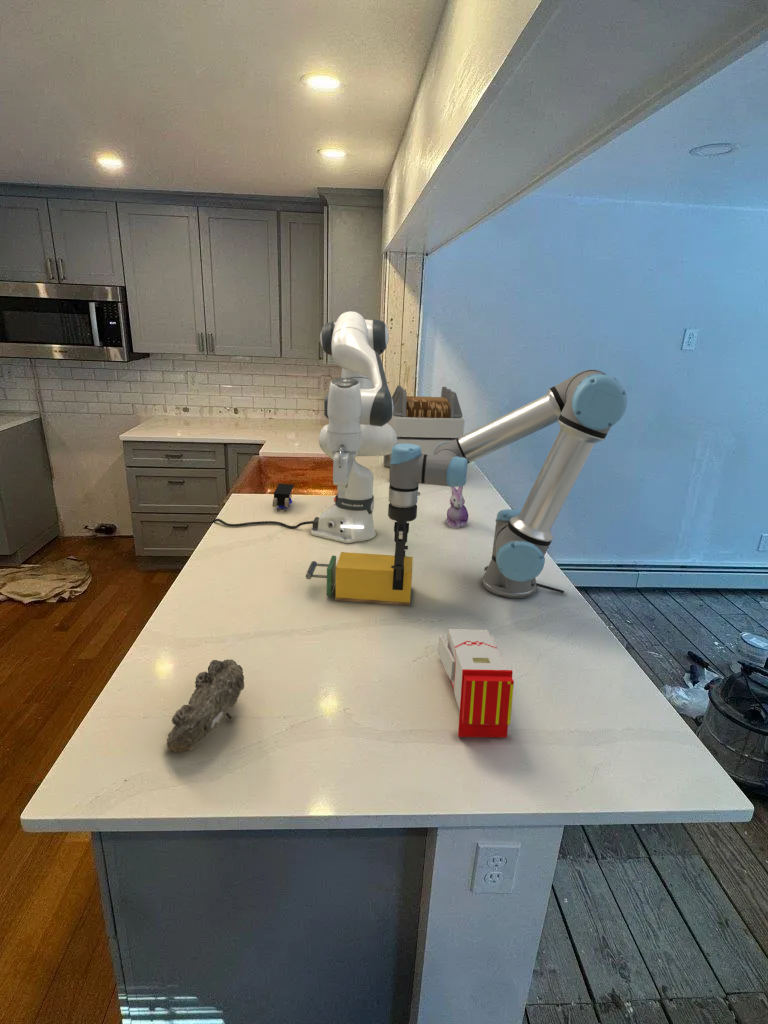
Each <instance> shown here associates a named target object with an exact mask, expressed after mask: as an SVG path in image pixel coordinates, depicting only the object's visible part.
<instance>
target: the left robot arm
mask: <svg viewBox="0 0 768 1024" xmlns="http://www.w3.org/2000/svg"><path fill="white" fill-rule="evenodd" d="M389 339H390V333H389V330H388V327H387V326H386V323H385V322H384V321H383V320H381V319H375V318H374V319H365V317H364V316H362V314H360V313H359V312H357V311H353V310H352V311H349V310H348V311H344V312H342V313H341V314H340V315H339V316H338V318H337V319H336V321H330V322H326V323H324V324H323V326H322V327H321V331H320V334H319V342H320V345H321V347H322V350H323V352H324V353H325V354H326V355H329V356H332V358H333V361H334V362H335V363H336V364H337V365H338V366H339V367H340V368H341V374H340V377H338V378H334V379H331V381H330V383H329V388H328V393H327V394H325V396H324V397H323V399H324V400H323V401H324V402H323V403H324V404H323V405H324V406H323V407H324V408H323V409H324V413H323V416H325V418H326V419H327V420H328V424H325V425H323V427H321V429H320V431H319V434H318V445H319V447H320V449H321V450H322V452H323V453H324V454H325V455H326V456H328V457H329V458H330V459H331V460H332V461H333V464H332V484H333V486H336V490H337V494H336V495H335V496H334V497H333V502H334V504H333V505H331V506H329V507H328V508H326V509H325V510H323V512H321V514H320V515H319V516H315V517H314V519H313V520H310V521H309V520H308V521H302V522H299V523H297V524H296V525H289V524H286V523H283V522H280V521H273V520H265V521H264V520H262V521H261V520H260V521H249V522H248V521H247V522H243V523H241V522H240V523H227V522H225V521H224V520H222V519H220V518H213V520H212V521H211V523H212V524H213V523H216V522H218V523H220V524H222V525H224V526H227V527H243V526H252V525H271V524H272V525H279V526H282V527H284V528H287V529H291V530H292V529H297V528H300V527H301V526H304V525H312V528H311V530H310V533H311V536H315V537H319V538H323V539H326V540H330V541H336V542H339V543H343V544H352V543H357V542H365V541H368V540H372V539H373V538H375V537H376V535H377V532H376V528H375V523H374V513H373V512H374V509H375V496H374V474H373V472H372V471H371V469H369V468H368V467H366V466H364V465H362V464H360V463H359V462H357V461H356V458H357V457H382V456H383V457H384V455H388V454H391V453H392V448H393V447H394V446H395V445H396V444H397V435H396V432H395V430H394V429H393V428H392V427H391V426H390V425H389V424H387V423H388V422H389V421H390V420H391V419H392V415H393V410H394V406H393V400H392V394H391V392H390V389H389V386H388V382H387V377H386V373H385V368H384V365H383V361H382V358H381V355H382V354H383V353H384V352H385V351H386V349H387V346H388V344H389Z"/></svg>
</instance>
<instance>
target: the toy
mask: <svg viewBox="0 0 768 1024" xmlns="http://www.w3.org/2000/svg"><path fill="white" fill-rule="evenodd" d="M446 640H447V643H446V641H445V639H444V636H443V635H442V634H439V637H438V646H437V656H438V657H439V659H440V661H441V663H442V666H443V668H444V670H445V672H446V674H447V677H448V679H449V681H450V684H451V687H452V690H453V693H454V697H455V701H456V705H457V708H458V711H459V714H458V715H459V716H458V730H457V731H458V732H457V737H458V738H508V731H509V726H510V725H511V717H512V707H513V697H514V696H513V695H514V684H515V680H514V679H513V673H514V671H513V670H512V669H508V667H507V665H506V662H505V661H504V659H503V658H502V655H501V653H500V651H499V649H498V647H497V643H496V639H495V637H494V635H493V634H491V632H490V631H489V629H467V628H466V629H465V628H463V629H461V628H460V629H459V628H448V630H447V639H446Z"/></svg>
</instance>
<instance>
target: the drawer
mask: <svg viewBox="0 0 768 1024" xmlns="http://www.w3.org/2000/svg"><path fill="white" fill-rule="evenodd" d="M336 566H337V555H331V557H330V560H329V563H318V562H317V561H316V560H312V561H311V562H310V564H309V567H308V569H307V571H306V574H305V575H304V577H305V579H307V580H311V579H312V578H313V579H314V578H316V579H326V596H330V597H331V596H332V594H333V591H334V589H335V586H336ZM317 567H325V568H326V574H315V570H316V568H317Z"/></svg>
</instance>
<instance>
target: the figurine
mask: <svg viewBox="0 0 768 1024" xmlns="http://www.w3.org/2000/svg"><path fill="white" fill-rule="evenodd" d="M463 490H464V486H462V487H450V491H451V496H450V499H449V504H450V507H449V508H447V510H446V519H445V524H446V525H447V527H449V528H452V529H453V528H454V529H459V528H464V527H466V525H468V520H469V513H468V509H467V507H466V506H465V503H466V501H465V497H464V494H463Z"/></svg>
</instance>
